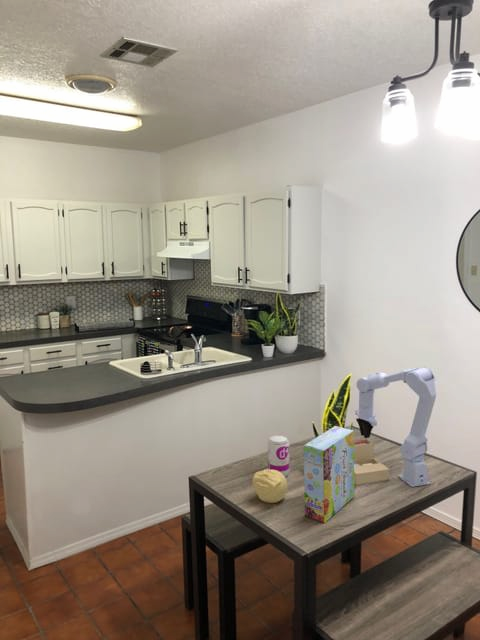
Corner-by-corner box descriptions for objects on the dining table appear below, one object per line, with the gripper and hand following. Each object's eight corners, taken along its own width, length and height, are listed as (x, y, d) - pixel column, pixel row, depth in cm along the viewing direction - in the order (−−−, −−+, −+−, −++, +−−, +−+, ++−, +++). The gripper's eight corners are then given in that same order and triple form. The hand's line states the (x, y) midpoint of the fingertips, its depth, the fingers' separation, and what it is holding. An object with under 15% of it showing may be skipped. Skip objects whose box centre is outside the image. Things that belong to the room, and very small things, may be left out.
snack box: (333, 490, 189) (334, 424, 185) (355, 498, 184) (356, 430, 180) (302, 515, 173) (302, 443, 168) (324, 524, 167) (325, 450, 163)
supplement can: (292, 476, 201) (292, 440, 198) (273, 480, 198) (273, 444, 195) (283, 468, 208) (283, 433, 206) (265, 471, 205) (264, 436, 203)
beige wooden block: (373, 442, 206) (367, 438, 211) (342, 446, 203) (336, 442, 208) (373, 457, 207) (367, 452, 212) (342, 461, 204) (337, 456, 208)
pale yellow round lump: (248, 499, 184) (247, 471, 182) (268, 487, 192) (268, 460, 191) (273, 510, 176) (272, 481, 174) (293, 497, 185) (293, 469, 183)
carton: (388, 480, 197) (389, 469, 196) (356, 485, 193) (356, 474, 192) (373, 467, 208) (373, 456, 207) (341, 471, 204) (342, 461, 204)
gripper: (384, 409, 205) (382, 441, 207) (366, 399, 219) (365, 429, 221) (368, 411, 203) (367, 443, 205) (351, 400, 217) (350, 431, 219)
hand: (365, 436), depth 213 cm, fingers closed
